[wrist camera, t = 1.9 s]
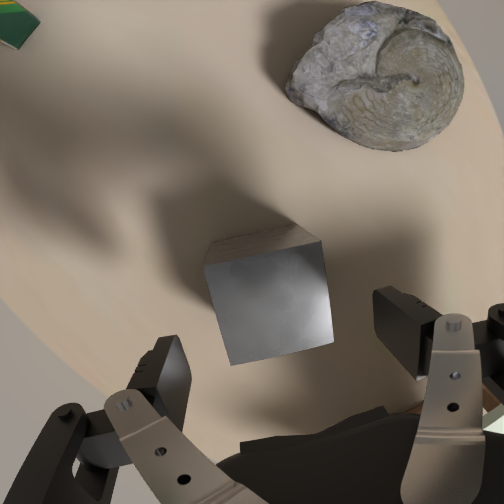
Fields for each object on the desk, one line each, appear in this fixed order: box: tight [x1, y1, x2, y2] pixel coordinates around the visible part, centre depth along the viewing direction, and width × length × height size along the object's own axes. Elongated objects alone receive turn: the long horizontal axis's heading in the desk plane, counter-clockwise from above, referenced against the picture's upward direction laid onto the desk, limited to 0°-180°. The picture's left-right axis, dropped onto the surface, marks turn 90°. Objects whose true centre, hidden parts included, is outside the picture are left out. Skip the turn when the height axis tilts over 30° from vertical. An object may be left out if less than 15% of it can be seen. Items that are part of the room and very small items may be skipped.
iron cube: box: [203, 224, 334, 366], centre depth 15 cm, size 5×5×5 cm
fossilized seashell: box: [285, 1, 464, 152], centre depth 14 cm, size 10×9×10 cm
